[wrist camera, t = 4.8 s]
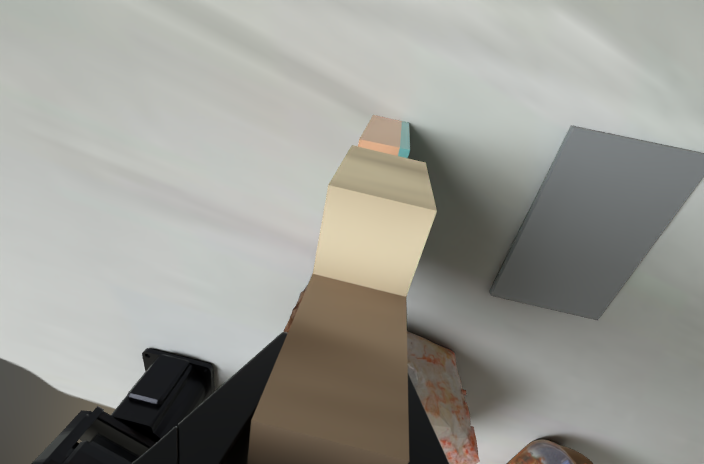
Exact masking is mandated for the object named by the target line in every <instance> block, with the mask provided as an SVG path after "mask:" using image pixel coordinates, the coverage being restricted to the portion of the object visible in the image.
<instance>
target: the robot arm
mask: <svg viewBox="0 0 704 464" xmlns="http://www.w3.org/2000/svg"><path fill="white" fill-rule="evenodd" d="M287 334H288V333H287V332H282V333H281V334H280V335H279V336H277V337H276V338H275V339H274V340H273V341H272V342H271V343H269V344H268V345H267V346H266V347H265V348H264V349H263V350H262V351H260V352H259V353H258V354H257V355H256V356H255V357H254V358H252V359H251V360H250V361H249V362H248V363H247V364H246V365H245V366H243V367H242V368H241V369H240V370H239V371H238V372H237V373H235V374H234V375H233V376H232V377H231V378H230V379H229V380H227V381H226V382H225V383H224V384H223V385H222V386H221V387H220V388H218V389H217V390H216V391H215V392H214V376H213V366H212V365H211V364H209V363H205V362H201V361H197V360H193V359H189V358H185V357H181V356H177V355H173V354H169V353H165V352H161V351H157V350H153V349H149V348H147V349H146V350H145V351H144V352H143V353H142V356H143V361H144V366H145V371H146V372H145V373H144V374H143V376H142V377H141V378H140V379H139V380H138V382H137V383H136V384H135V385H134V387H133V388H132V389H131V390H130V391H129V393H128V395H127V396H126V397H125V398H124V400H123V401H122V402H121V403H120V405H119V406H118V407H117V408H116V409H115V411H114V412H113V413H112V415H109V414H108V413H106V412H104V411H103V409H102V408H100V407H98V406H97V408H96V409H95V410H94V411H93V412H91V411H81V412H80V413H79V414H78V415H77V416H76V417H75V418H74V419H73V420H72V421H71V422H70V424H69V425H68V426H67V427H66V428H65V429H64V430H63V431H62V432H61V433H60V434H59V436H58V437H57V438H56V439H55V440H54V441H53V442H52V443H51V444H50V445H49V446H48V447H47V448H46V449H45V450H44V451H43V452H42V453H41V454H40V455H39V456H38V457H37V458H36V459H35V461H34V462H33V463H32V464H247V463H248V452H249V441H250V430H251V420H252V417H253V415H254V413H255V410H256V408H257V406H258V403H259V401H260V398H261V396H262V394H263V391H264V389H265V386H266V384H267V382H268V379H269V377H270V374H271V372H272V370H273V367H274V365H275V363H276V360H277V358H278V355H279V353H280V351H281V348H282V346H283V343H284V341H285V339H286V336H287ZM408 420H409V463H408V464H449V462H448V460H447V457H446V455H445V453H444V451H443V449H442V446H441V444H440V442H439V440H438V438H437V435H436V433H435V431H434V429H433V427H432V425H431V422H430V420H429V418H428V416H427V414H426V411H425V409H424V407H423V405H422V403H421V400H420V398H419V396H418V394H417V392H416V390H415V387H414V385H413V383H412V381H411V379H410V376H409V374H408ZM79 439H80V440H81V441H82V442H80V444H79V443H77V441H78V440H79Z"/></svg>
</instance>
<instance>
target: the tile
mask: <svg viewBox="0 0 704 464" xmlns="http://www.w3.org/2000/svg"><path fill="white" fill-rule="evenodd" d="M358 147H362V148H366V149H370V150H374V151H379V152H383V153H387V154H391V155H395V156H400V157H404V158H408V156H409V152H410V134H409V123H408V122H404V121H399V120H394V119H389V118H385V117H380V116H375V115H373V116H372V118H371V120H370V121H369V123H368V125H367V127H366V128H365V130H364V132H363V134H362V135H361V137H360V139H359V144H358Z"/></svg>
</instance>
